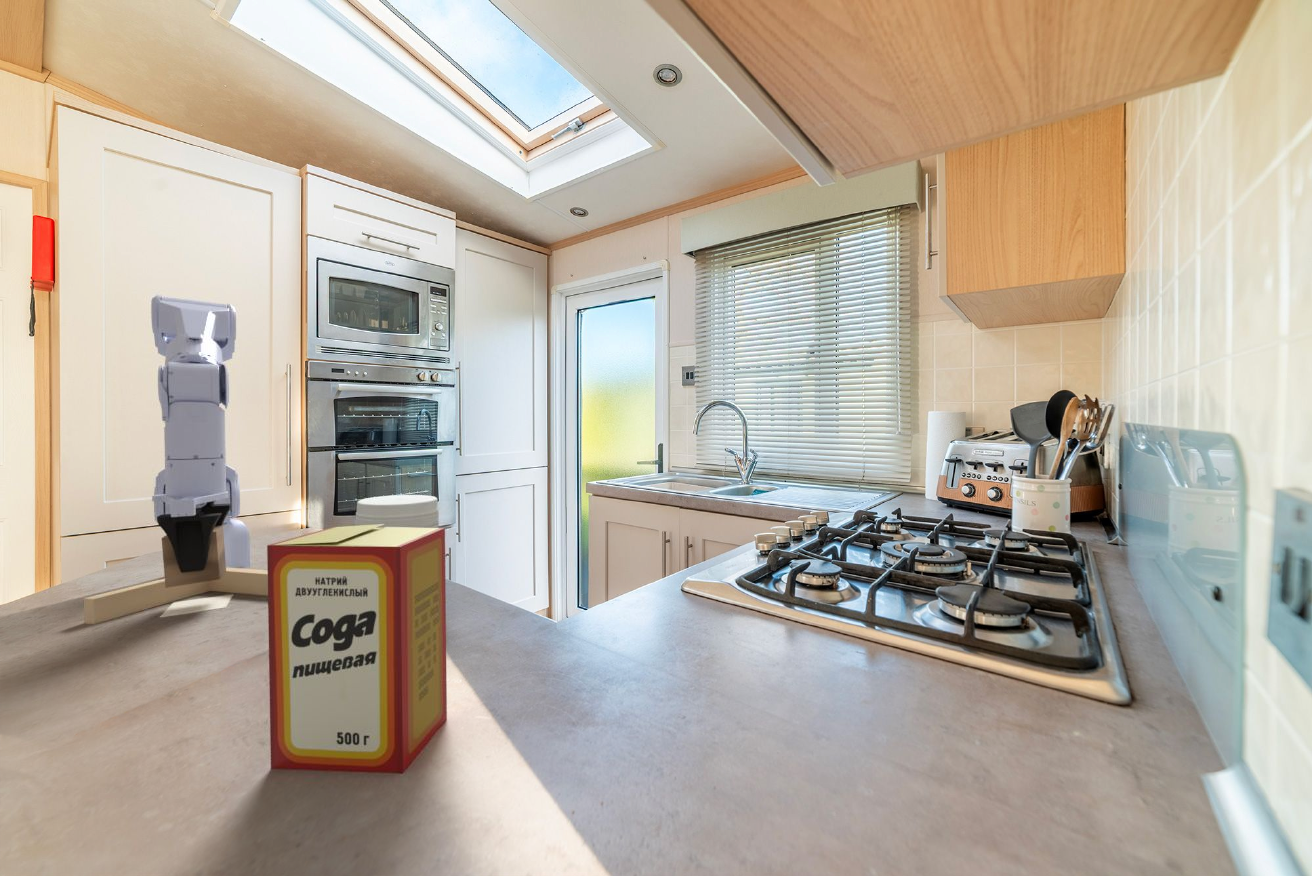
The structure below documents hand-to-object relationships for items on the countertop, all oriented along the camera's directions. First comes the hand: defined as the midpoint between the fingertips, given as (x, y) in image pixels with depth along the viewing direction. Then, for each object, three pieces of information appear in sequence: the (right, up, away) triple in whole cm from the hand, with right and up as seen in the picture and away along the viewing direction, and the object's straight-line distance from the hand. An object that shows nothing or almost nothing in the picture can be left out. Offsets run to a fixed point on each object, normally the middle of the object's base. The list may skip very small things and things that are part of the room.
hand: (198, 565), depth 65 cm
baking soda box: (+36, -7, -26) cm, 45 cm away
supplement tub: (+25, -7, +1) cm, 26 cm away
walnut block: (0, -2, 0) cm, 2 cm away
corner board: (+3, -6, -1) cm, 7 cm away
